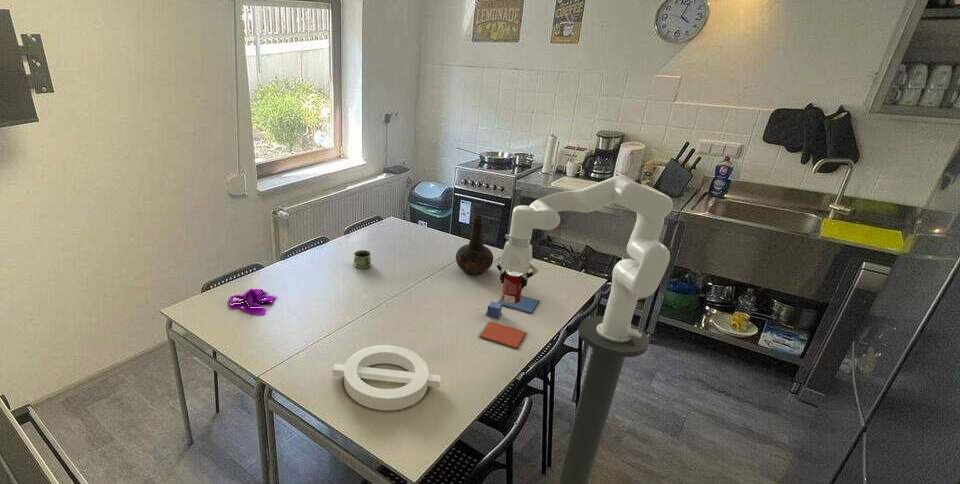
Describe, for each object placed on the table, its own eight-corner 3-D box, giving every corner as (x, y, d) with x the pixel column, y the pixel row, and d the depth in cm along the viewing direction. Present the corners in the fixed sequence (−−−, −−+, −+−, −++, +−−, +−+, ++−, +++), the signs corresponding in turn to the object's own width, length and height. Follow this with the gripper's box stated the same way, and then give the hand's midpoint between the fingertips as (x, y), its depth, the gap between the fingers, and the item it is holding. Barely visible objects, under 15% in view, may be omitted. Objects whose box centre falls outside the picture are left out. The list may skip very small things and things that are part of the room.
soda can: (514, 307, 180) (519, 278, 175) (497, 301, 184) (501, 272, 179) (522, 300, 185) (527, 272, 180) (506, 294, 189) (510, 266, 184)
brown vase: (491, 264, 246) (498, 211, 234) (491, 280, 230) (499, 224, 218) (455, 260, 250) (460, 208, 237) (453, 276, 234) (458, 221, 222)
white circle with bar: (328, 374, 168) (328, 363, 166) (392, 347, 182) (392, 336, 180) (377, 423, 147) (377, 411, 145) (445, 387, 162) (446, 376, 160)
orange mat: (525, 333, 190) (525, 331, 190) (516, 348, 181) (516, 347, 181) (490, 322, 197) (490, 321, 197) (480, 337, 188) (480, 335, 188)
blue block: (500, 313, 204) (502, 304, 202) (497, 318, 200) (498, 308, 198) (490, 310, 206) (491, 301, 204) (486, 315, 202) (487, 305, 200)
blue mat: (538, 301, 213) (538, 300, 212) (531, 313, 204) (531, 312, 203) (506, 292, 219) (506, 291, 219) (498, 304, 210) (498, 303, 210)
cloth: (220, 302, 212) (218, 290, 209) (254, 287, 224) (253, 275, 222) (252, 320, 199) (250, 307, 196) (287, 303, 211) (286, 290, 208)
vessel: (376, 266, 243) (377, 255, 241) (363, 271, 238) (363, 259, 236) (361, 258, 252) (361, 247, 249) (348, 263, 247) (348, 251, 244)
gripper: (492, 238, 175) (486, 282, 183) (542, 249, 167) (533, 295, 175) (499, 232, 181) (493, 275, 189) (547, 242, 172) (539, 286, 180)
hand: (512, 284), depth 182 cm, fingers closed on soda can, 6 cm apart
